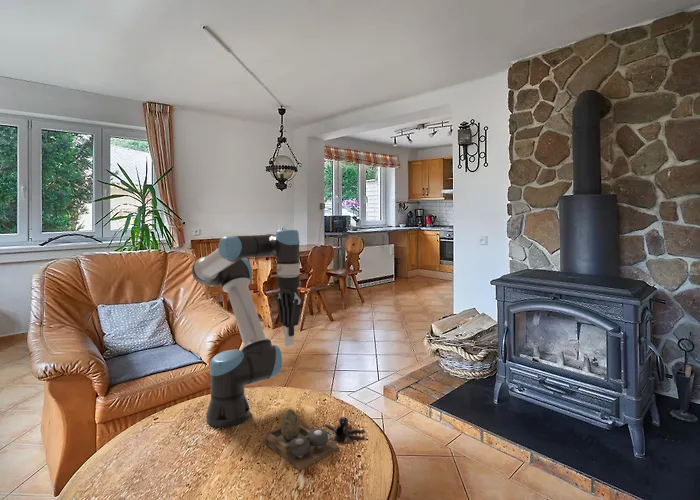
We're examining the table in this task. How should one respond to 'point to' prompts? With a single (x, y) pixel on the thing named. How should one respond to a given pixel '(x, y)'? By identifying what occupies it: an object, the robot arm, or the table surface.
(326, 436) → the wheel
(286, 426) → the decorative egg
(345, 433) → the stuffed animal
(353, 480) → the table surface
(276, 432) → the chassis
